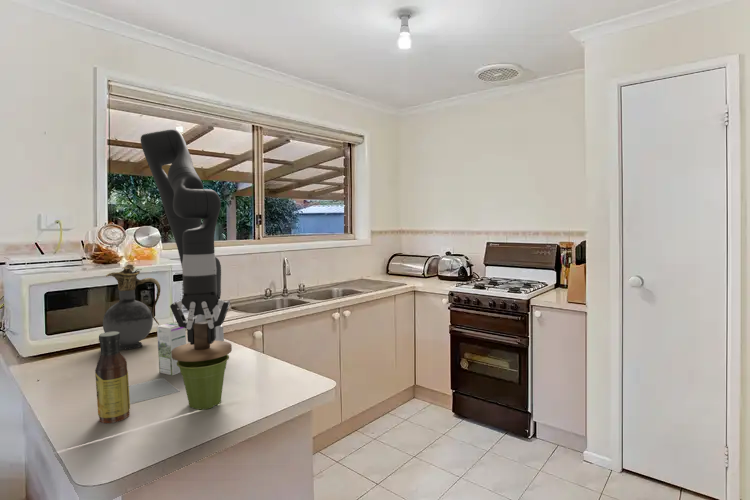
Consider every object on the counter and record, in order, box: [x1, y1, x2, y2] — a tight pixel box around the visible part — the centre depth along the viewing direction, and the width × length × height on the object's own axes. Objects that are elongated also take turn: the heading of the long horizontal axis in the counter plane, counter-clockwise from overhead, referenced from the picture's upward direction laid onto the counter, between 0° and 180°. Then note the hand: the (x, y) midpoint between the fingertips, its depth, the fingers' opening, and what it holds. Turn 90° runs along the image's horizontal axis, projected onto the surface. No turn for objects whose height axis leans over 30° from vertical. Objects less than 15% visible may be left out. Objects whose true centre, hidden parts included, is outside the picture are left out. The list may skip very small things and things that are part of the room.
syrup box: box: [156, 322, 187, 376], centre depth 129 cm, size 6×6×14 cm
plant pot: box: [177, 354, 230, 411], centre depth 105 cm, size 12×12×11 cm
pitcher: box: [102, 263, 161, 351], centre depth 157 cm, size 11×19×30 cm, turn 132°
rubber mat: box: [129, 377, 180, 405], centre depth 114 cm, size 14×14×1 cm
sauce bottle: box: [94, 331, 131, 424], centre depth 98 cm, size 6×6×20 cm
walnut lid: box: [171, 322, 233, 362], centre depth 105 cm, size 14×14×7 cm
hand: (202, 343), depth 105 cm, fingers closed on walnut lid, 3 cm apart
